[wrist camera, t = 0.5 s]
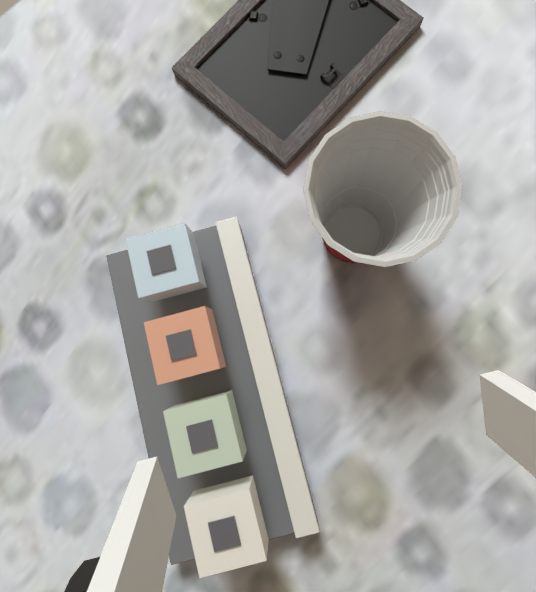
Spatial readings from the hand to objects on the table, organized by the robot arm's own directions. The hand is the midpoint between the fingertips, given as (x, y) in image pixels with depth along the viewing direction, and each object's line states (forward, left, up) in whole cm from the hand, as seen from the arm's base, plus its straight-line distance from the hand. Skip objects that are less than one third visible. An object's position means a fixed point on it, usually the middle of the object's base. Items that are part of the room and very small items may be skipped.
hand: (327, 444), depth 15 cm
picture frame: (+34, -9, -22) cm, 41 cm away
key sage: (-1, +8, -17) cm, 19 cm away
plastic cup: (+13, -9, -21) cm, 26 cm away
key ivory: (-8, +8, -17) cm, 20 cm away
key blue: (+13, +8, -17) cm, 23 cm away
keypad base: (+3, +8, -21) cm, 23 cm away
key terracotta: (+6, +8, -17) cm, 20 cm away
